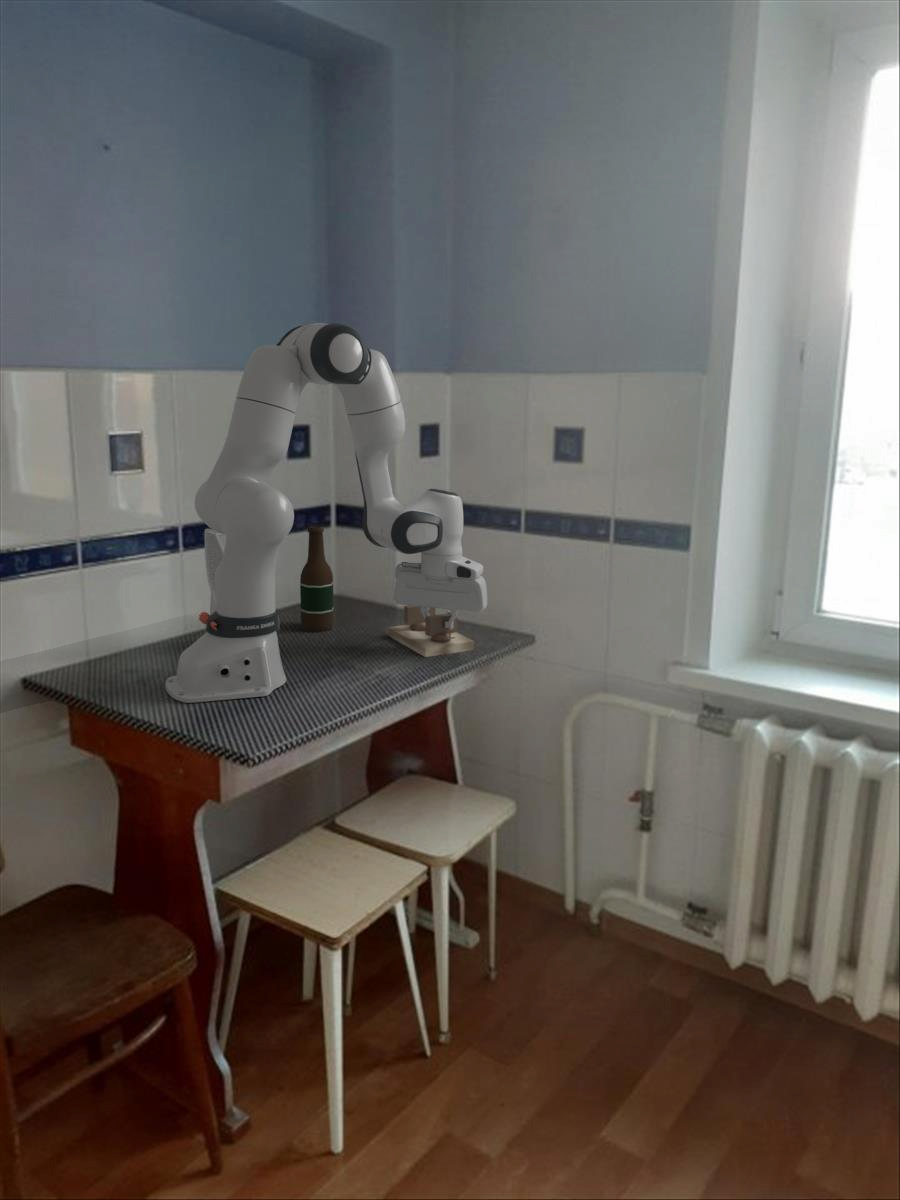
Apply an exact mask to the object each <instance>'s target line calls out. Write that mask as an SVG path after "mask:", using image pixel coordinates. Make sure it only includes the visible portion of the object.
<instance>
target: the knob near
mask: <svg viewBox="0 0 900 1200" xmlns="http://www.w3.org/2000/svg"><path fill="white" fill-rule="evenodd" d="M452 615H453V614H450V610H448V611H447V613H441V614H435V615H433V616H427V617H426V619H425V635H427V636H431V640H432V641H434V642H448V641H450V640H451V633H454V632H457V631H458V628H457V627H458V626H457V625H458V615H457V616H456V618H455V620H454V624H453V629H445V621H446V620H450V618H451V617H452ZM457 633H458V632H457Z"/></svg>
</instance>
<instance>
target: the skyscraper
mask: <svg viewBox="0 0 900 1200" xmlns="http://www.w3.org/2000/svg"><path fill="white" fill-rule="evenodd" d="M225 540H226V539H225V535H224V534H221V533H218V532H216V531H214V530H212V529H211V528H205V529H204V556H205V568H206V576H207V581H208V586H209V590H210V601H209V606H210V607H209V615H210V616H211V615H212V614H213V613H214V612H215V611H216V590H215V571H216V569H217V567H218V566H219V565H220V563H221V561H222V558H223V553H224V548H225Z"/></svg>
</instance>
